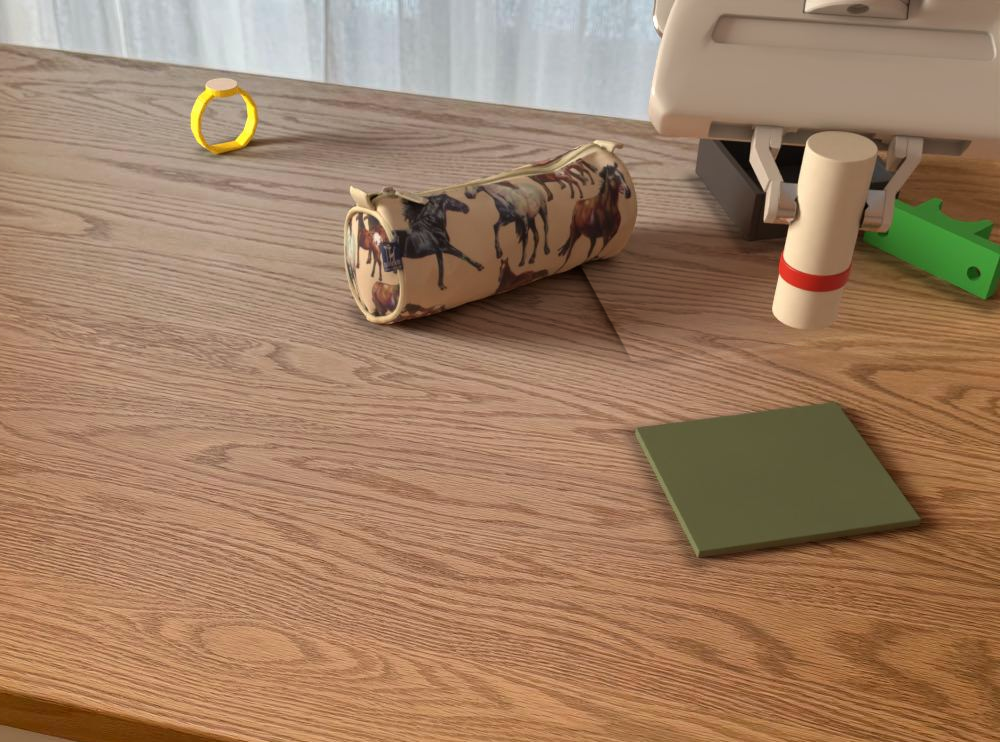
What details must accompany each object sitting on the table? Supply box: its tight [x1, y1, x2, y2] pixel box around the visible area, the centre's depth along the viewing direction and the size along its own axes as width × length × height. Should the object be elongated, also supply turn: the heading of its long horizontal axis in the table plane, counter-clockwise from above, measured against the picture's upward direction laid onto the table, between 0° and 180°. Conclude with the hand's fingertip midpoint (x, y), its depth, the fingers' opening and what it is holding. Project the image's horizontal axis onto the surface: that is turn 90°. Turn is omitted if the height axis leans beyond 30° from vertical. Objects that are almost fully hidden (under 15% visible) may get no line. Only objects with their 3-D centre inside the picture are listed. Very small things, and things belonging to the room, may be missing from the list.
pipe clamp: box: [862, 197, 1000, 301], centre depth 95 cm, size 11×4×5 cm, turn 39°
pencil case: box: [343, 139, 638, 325], centre depth 91 cm, size 22×8×10 cm, turn 120°
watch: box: [190, 77, 259, 155], centre depth 109 cm, size 6×3×6 cm, turn 127°
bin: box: [695, 138, 902, 242], centre depth 102 cm, size 12×12×5 cm
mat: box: [634, 401, 922, 559], centre depth 77 cm, size 14×12×1 cm
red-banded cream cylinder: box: [771, 131, 879, 331], centre depth 67 cm, size 4×4×10 cm
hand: (827, 225), depth 66 cm, fingers closed on red-banded cream cylinder, 3 cm apart
